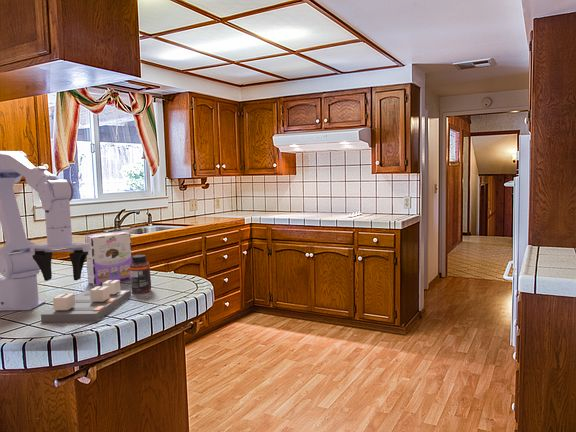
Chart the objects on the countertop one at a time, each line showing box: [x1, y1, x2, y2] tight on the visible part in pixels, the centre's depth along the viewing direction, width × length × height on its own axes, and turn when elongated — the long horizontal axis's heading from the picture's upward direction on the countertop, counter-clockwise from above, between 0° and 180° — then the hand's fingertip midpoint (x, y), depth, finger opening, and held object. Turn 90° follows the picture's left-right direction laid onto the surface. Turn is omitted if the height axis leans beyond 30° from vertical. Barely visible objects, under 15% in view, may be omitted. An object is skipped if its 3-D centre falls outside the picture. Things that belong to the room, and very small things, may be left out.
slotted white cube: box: [52, 293, 76, 310], centre depth 118 cm, size 4×4×3 cm
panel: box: [40, 289, 132, 323], centre depth 125 cm, size 14×23×2 cm, turn 178°
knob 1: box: [89, 285, 110, 302], centre depth 125 cm, size 4×4×3 cm
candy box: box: [84, 231, 133, 287], centre depth 157 cm, size 14×6×16 cm, turn 134°
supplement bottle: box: [130, 254, 152, 294], centre depth 142 cm, size 6×6×11 cm
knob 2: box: [102, 280, 122, 294], centre depth 132 cm, size 4×4×3 cm
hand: (62, 279), depth 117 cm, fingers open, 7 cm apart
